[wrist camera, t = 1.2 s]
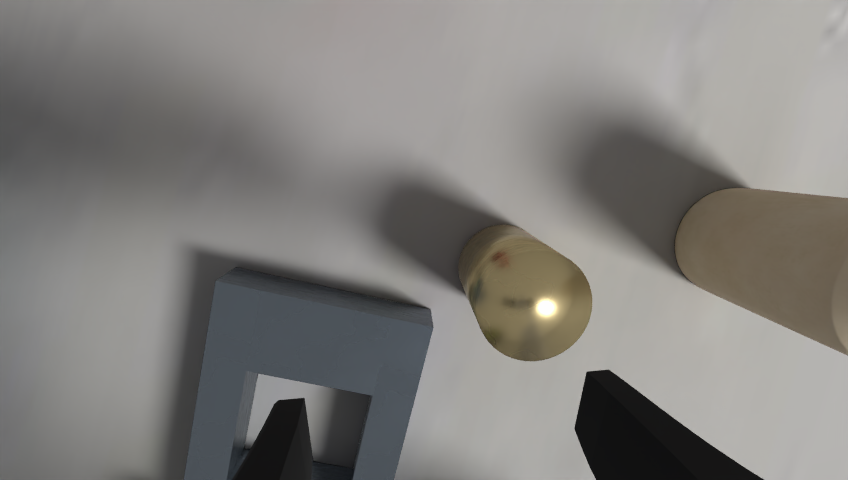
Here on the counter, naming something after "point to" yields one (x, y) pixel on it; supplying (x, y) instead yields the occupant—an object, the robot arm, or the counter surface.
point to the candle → (773, 257)
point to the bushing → (524, 293)
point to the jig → (305, 366)
